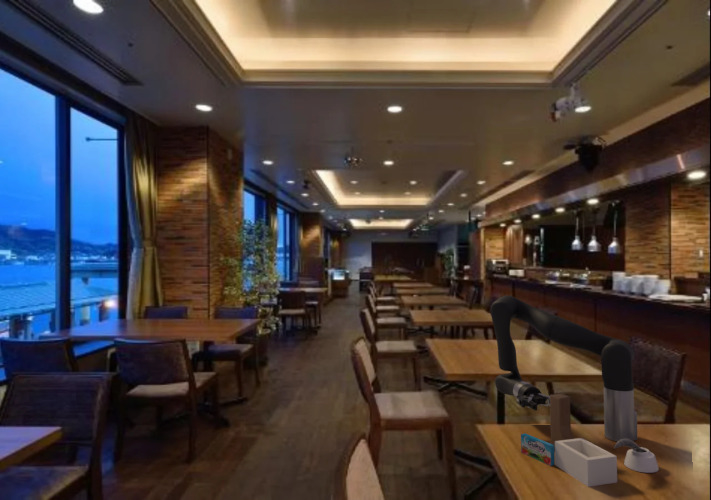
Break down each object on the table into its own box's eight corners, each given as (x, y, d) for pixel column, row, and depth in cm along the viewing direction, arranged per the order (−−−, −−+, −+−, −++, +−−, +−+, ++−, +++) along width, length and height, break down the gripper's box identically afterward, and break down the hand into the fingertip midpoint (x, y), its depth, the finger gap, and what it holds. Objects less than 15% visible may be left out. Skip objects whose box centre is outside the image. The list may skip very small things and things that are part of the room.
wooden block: (582, 458, 158) (581, 400, 158) (571, 460, 156) (570, 402, 156) (561, 447, 166) (560, 393, 166) (550, 449, 164) (549, 394, 164)
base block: (582, 462, 155) (581, 437, 155) (617, 483, 141) (616, 456, 141) (555, 465, 153) (554, 441, 153) (587, 487, 139) (587, 460, 139)
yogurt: (554, 465, 153) (554, 445, 153) (551, 466, 152) (550, 446, 152) (524, 451, 163) (524, 432, 163) (521, 452, 163) (520, 433, 163)
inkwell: (665, 468, 149) (664, 434, 150) (633, 484, 140) (632, 448, 140) (633, 457, 157) (633, 425, 157) (601, 472, 147) (600, 438, 147)
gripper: (508, 384, 187) (528, 397, 171) (544, 382, 189) (567, 395, 173) (508, 404, 187) (528, 419, 171) (545, 402, 189) (568, 416, 173)
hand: (548, 407), depth 172 cm, fingers open, 8 cm apart
